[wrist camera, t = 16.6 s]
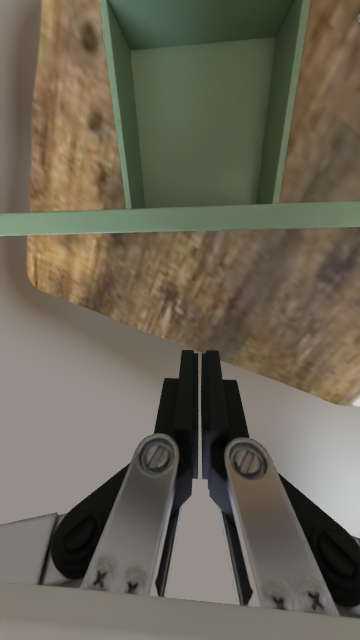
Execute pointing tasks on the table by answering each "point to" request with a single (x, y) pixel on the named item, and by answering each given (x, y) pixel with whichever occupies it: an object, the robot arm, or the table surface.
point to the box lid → (184, 219)
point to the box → (203, 97)
